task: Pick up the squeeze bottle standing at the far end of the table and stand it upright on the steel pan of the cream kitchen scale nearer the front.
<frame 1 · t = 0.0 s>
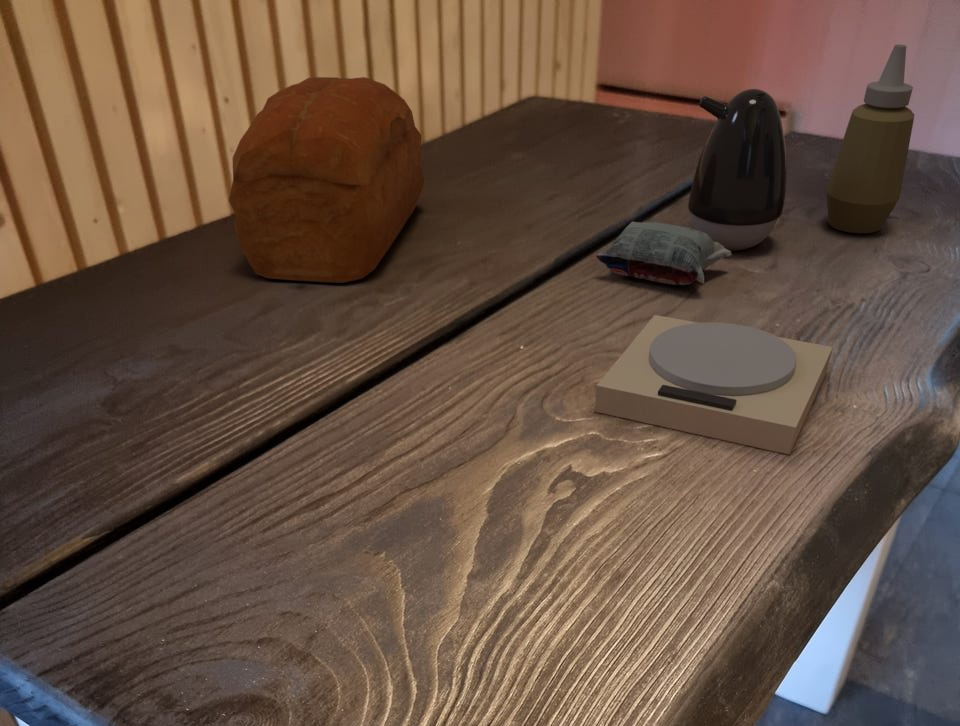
pump dispenser: (727, 244, 104), on the table
packaged food: (661, 276, 98), on the table
bread: (339, 240, 107), on the table
squeeze bottle: (853, 228, 108), on the table
scale: (713, 391, 79), on the table
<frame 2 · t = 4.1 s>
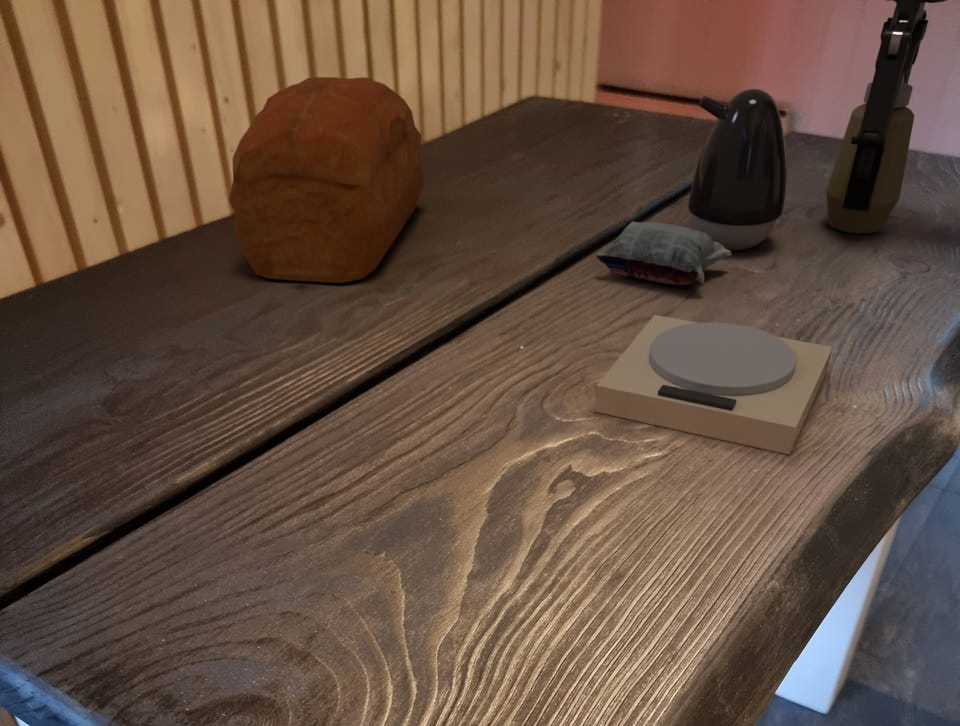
hand: (861, 196, 105), 3 cm above the table, tool pointing down, fingers closed on squeeze bottle, 8 cm apart
squeeze bottle: (853, 228, 108), on the table, touching gripper
everything else where it was.
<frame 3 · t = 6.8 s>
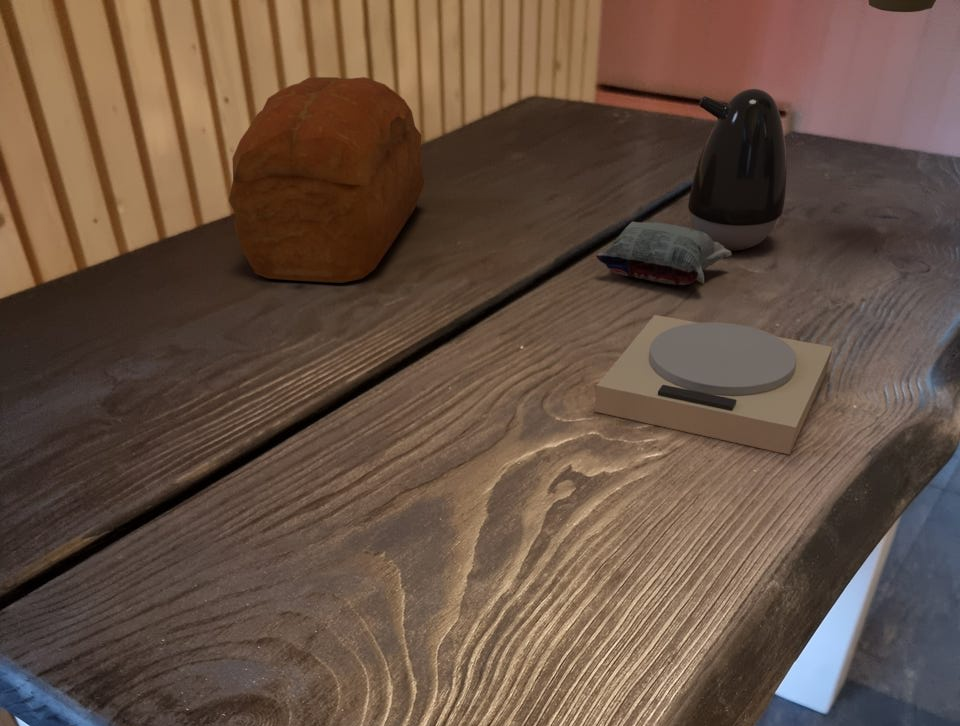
squeeze bottle: (899, 10, 89), point 22 cm above the table, touching gripper
everything else where it was.
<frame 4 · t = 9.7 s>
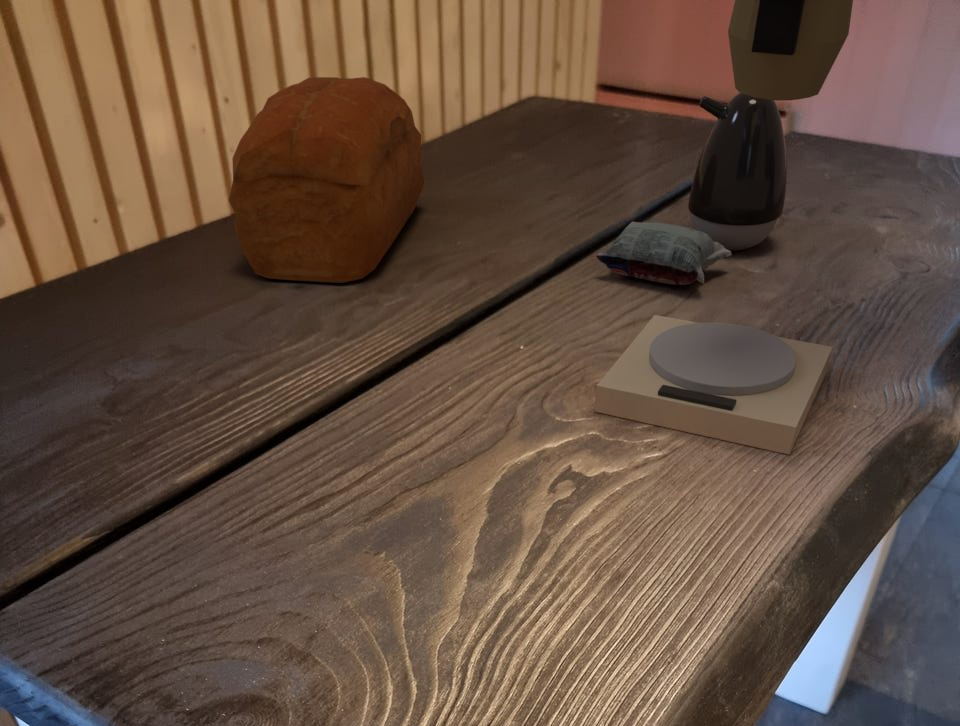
hand: (787, 40, 64), 25 cm above the table, tool pointing down, fingers closed on squeeze bottle, 8 cm apart
squeeze bottle: (776, 96, 66), point 22 cm above the table, touching gripper
everything else where it was.
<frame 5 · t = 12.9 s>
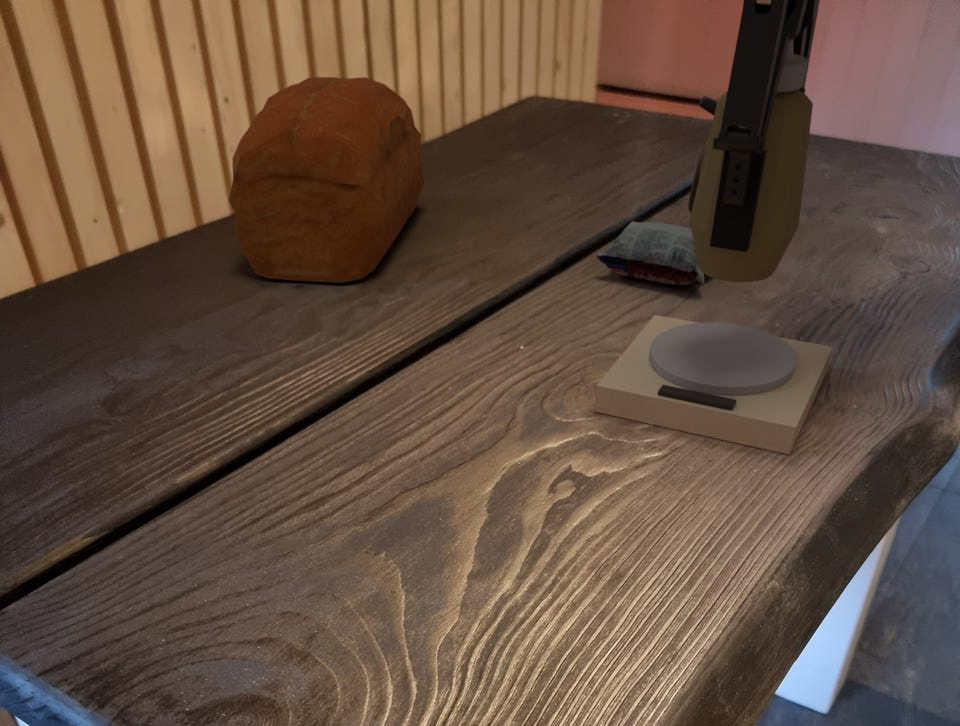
hand: (744, 228, 70), 13 cm above the table, tool pointing down, fingers closed on squeeze bottle, 8 cm apart
squeeze bottle: (734, 273, 73), point 10 cm above the table, touching gripper
everything else where it was.
when the fingers open (6 cm above the table, at t = 15.2 s): squeeze bottle stays where it is, resting on scale.
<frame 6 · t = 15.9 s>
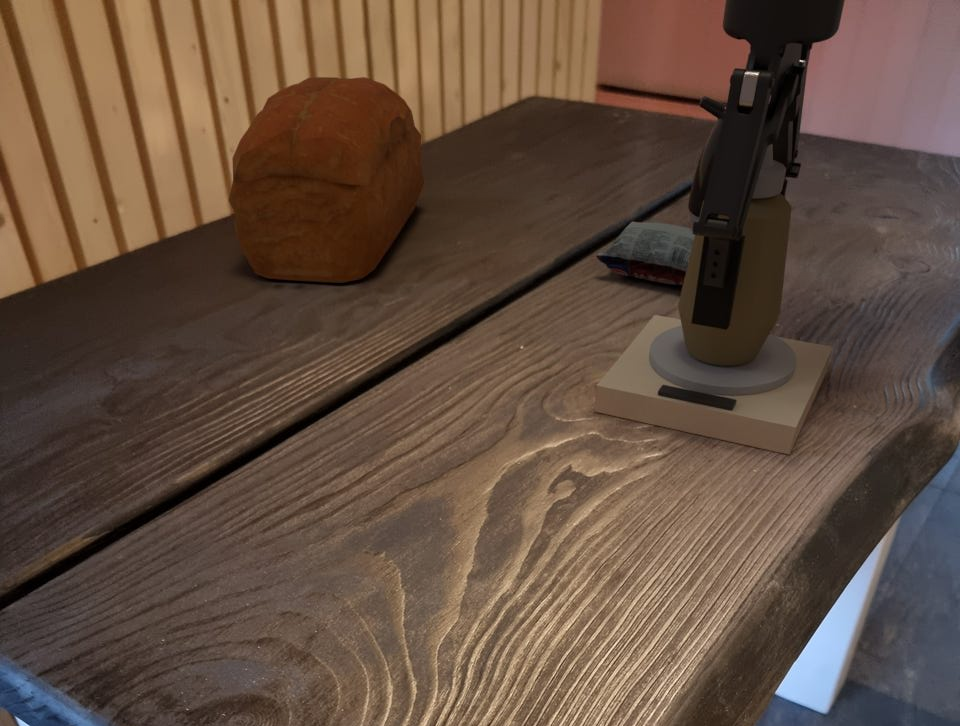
hand: (733, 292, 73), 8 cm above the table, tool pointing down, fingers open, 13 cm apart
squeeze bottle: (720, 354, 77), point 3 cm above the table, touching scale
everything else where it was.
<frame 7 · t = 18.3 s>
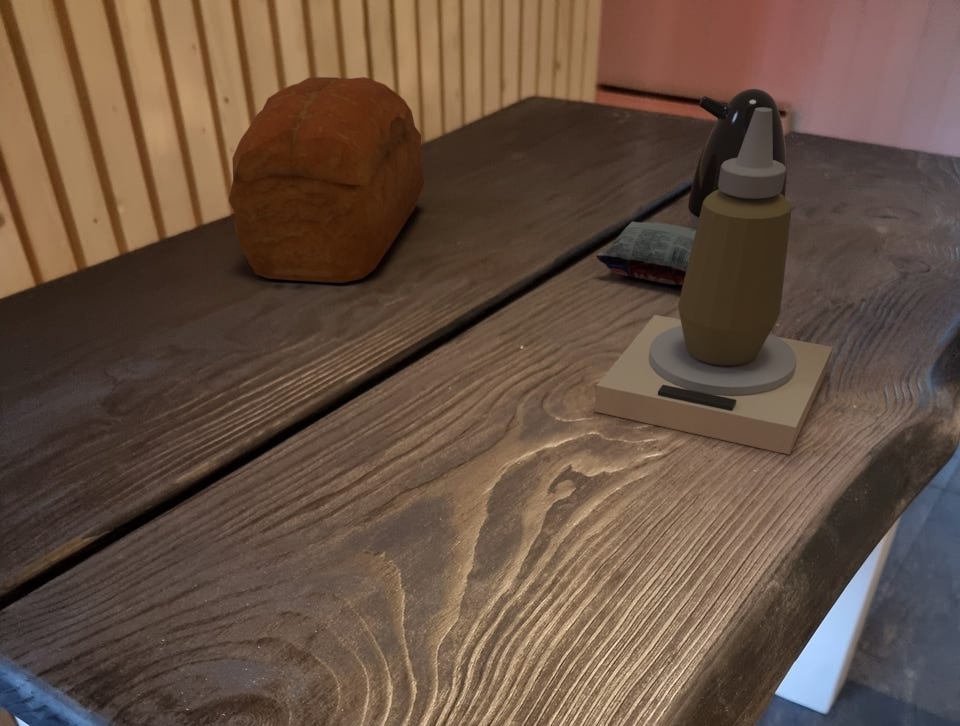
nothing on the table moved.
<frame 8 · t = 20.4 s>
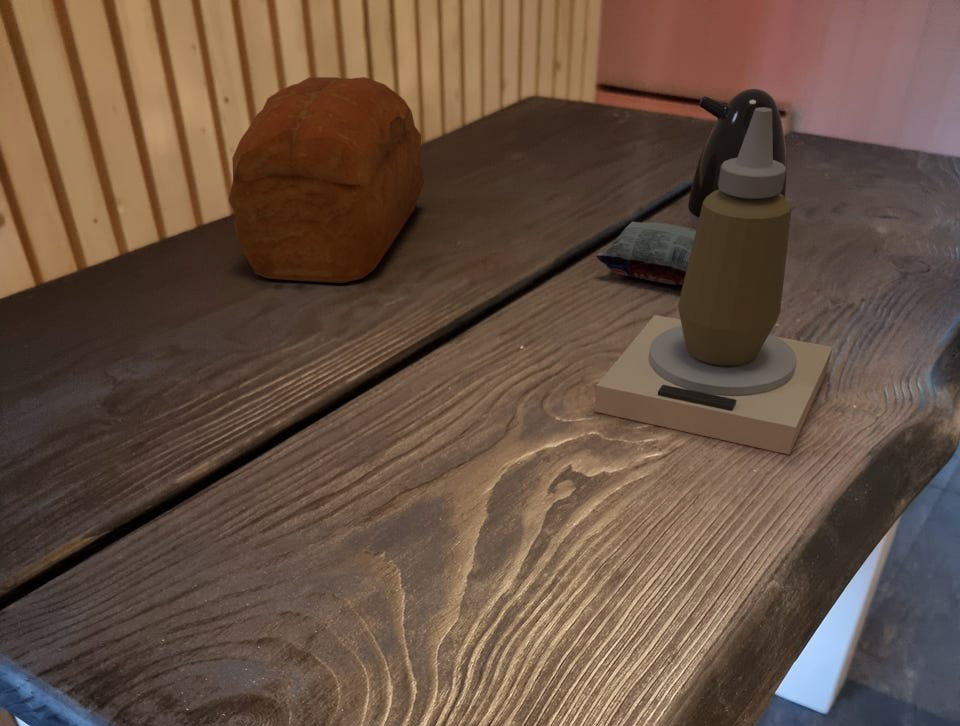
nothing on the table moved.
at the end: squeeze bottle inside the target area on the scale (0.1 cm from its centre), point 3.0 cm above the scale's base; squeeze bottle tilted 0° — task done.
